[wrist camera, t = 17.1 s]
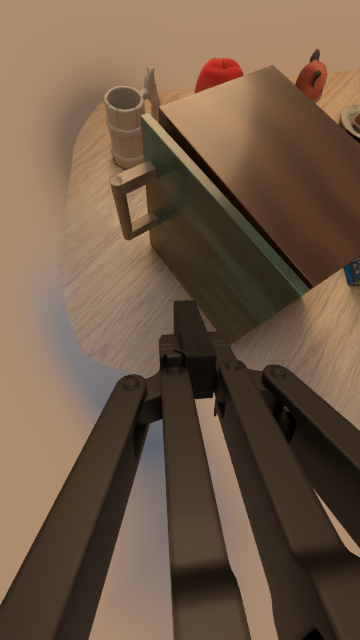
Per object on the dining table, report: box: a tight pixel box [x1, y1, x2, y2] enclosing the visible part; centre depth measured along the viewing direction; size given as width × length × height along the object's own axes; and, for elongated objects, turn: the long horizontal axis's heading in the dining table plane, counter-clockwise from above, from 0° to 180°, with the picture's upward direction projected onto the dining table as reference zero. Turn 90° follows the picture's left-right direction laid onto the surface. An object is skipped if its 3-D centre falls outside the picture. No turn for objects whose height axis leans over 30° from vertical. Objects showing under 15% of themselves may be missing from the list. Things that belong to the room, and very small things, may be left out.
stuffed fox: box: [295, 49, 327, 103], centre depth 47 cm, size 8×11×12 cm
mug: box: [104, 66, 161, 169], centre depth 42 cm, size 8×12×12 cm, turn 135°
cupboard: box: [158, 66, 360, 313], centre depth 32 cm, size 15×22×20 cm
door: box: [110, 113, 309, 345], centre depth 29 cm, size 6×22×20 cm, turn 36°
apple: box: [195, 58, 243, 93], centre depth 47 cm, size 10×10×10 cm
